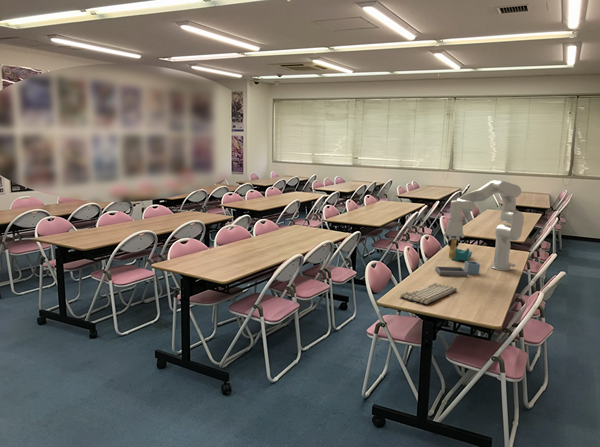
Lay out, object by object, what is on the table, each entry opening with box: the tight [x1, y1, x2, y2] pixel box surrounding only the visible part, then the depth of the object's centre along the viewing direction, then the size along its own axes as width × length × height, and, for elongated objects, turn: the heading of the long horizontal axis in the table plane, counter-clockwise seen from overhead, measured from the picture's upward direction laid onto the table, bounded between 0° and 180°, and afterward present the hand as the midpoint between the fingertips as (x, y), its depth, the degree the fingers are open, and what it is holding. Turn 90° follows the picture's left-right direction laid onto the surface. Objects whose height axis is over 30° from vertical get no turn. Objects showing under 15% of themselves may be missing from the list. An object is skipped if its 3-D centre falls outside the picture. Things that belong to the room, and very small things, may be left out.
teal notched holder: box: [450, 247, 473, 262], centre depth 356 cm, size 18×11×10 cm, turn 150°
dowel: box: [448, 237, 457, 260], centre depth 312 cm, size 4×4×13 cm
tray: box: [434, 265, 468, 278], centre depth 315 cm, size 18×12×3 cm, turn 88°
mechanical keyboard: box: [399, 282, 458, 307], centre depth 270 cm, size 38×19×3 cm, turn 137°
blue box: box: [463, 260, 481, 275], centre depth 318 cm, size 8×8×7 cm
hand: (453, 245), depth 312 cm, fingers closed on dowel, 4 cm apart
